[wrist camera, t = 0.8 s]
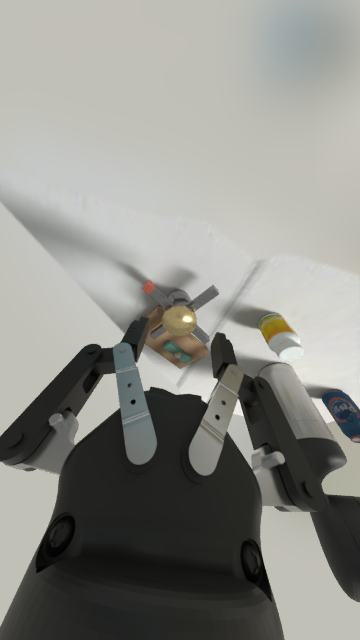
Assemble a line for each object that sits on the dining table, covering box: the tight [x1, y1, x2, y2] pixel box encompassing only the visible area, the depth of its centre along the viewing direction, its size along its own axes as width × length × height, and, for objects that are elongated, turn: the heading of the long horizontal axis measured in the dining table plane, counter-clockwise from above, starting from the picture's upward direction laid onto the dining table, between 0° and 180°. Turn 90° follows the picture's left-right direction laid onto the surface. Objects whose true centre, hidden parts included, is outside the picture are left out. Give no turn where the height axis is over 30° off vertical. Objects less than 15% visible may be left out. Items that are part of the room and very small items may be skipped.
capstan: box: [142, 280, 219, 344], centre depth 30 cm, size 17×17×7 cm
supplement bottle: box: [259, 314, 304, 361], centre depth 30 cm, size 5×5×10 cm
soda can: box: [322, 390, 360, 443], centre depth 44 cm, size 7×7×12 cm
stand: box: [145, 306, 208, 369], centre depth 38 cm, size 18×10×5 cm, turn 43°
